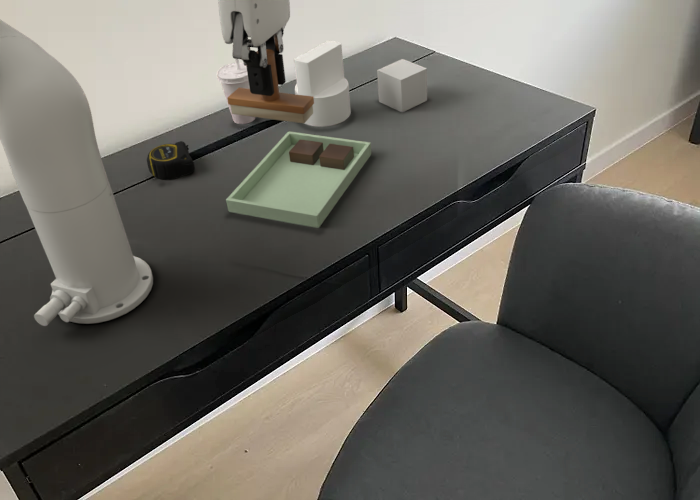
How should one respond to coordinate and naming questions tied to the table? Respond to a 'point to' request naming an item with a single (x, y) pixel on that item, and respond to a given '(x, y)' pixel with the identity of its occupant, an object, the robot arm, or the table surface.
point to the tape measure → (170, 161)
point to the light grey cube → (402, 85)
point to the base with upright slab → (324, 83)
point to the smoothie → (234, 85)
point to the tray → (296, 183)
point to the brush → (272, 101)
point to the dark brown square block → (306, 152)
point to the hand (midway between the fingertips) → (268, 87)
